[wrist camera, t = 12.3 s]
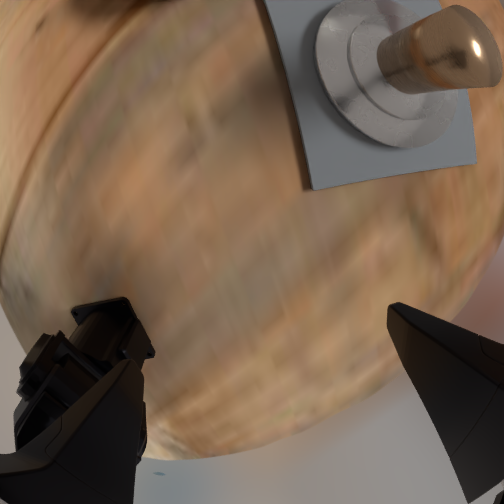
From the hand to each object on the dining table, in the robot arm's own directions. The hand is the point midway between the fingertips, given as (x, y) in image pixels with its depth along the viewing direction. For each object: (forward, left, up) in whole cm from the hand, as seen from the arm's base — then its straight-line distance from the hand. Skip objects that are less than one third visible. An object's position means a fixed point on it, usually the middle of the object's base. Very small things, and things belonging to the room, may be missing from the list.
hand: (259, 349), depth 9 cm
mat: (+13, +10, -12) cm, 20 cm away
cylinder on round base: (+13, +10, -11) cm, 20 cm away
